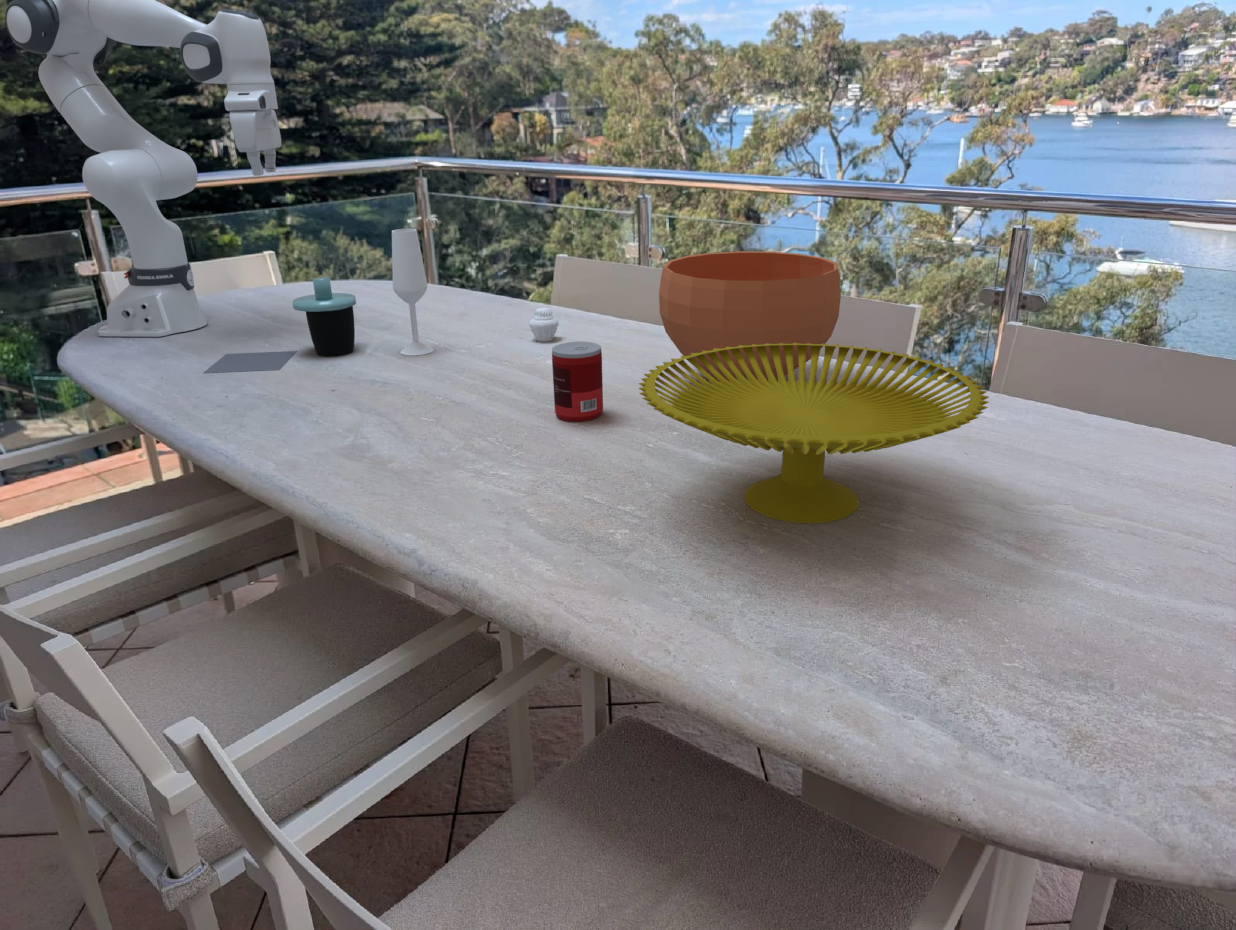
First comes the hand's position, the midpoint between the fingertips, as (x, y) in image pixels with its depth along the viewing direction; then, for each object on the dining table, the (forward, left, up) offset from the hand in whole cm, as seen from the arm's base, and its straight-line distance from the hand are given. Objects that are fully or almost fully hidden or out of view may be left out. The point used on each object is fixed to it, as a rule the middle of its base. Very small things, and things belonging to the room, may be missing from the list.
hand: (264, 173), depth 185 cm
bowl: (+90, -48, -34) cm, 108 cm away
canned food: (+60, -61, -34) cm, 92 cm away
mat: (-2, -22, -34) cm, 41 cm away
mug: (+12, -16, -34) cm, 40 cm away
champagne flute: (+29, -16, -34) cm, 48 cm away
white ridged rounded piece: (+55, -11, -34) cm, 66 cm away
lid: (+12, -16, -24) cm, 31 cm away
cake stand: (+86, -98, -34) cm, 135 cm away
